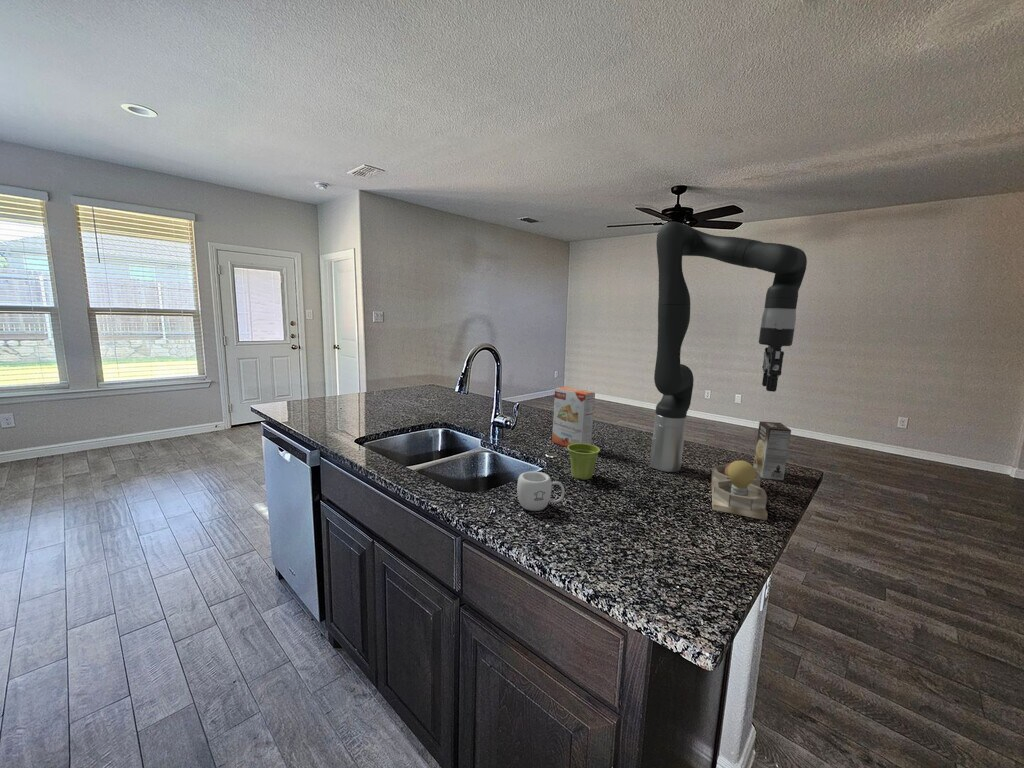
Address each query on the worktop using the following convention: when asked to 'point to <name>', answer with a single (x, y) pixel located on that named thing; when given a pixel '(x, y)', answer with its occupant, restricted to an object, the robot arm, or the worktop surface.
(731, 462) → the terracotta ball
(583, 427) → the cracker box
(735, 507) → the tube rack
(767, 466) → the coffee box
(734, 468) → the light bulb
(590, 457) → the plant pot
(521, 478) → the mug
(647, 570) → the worktop surface
